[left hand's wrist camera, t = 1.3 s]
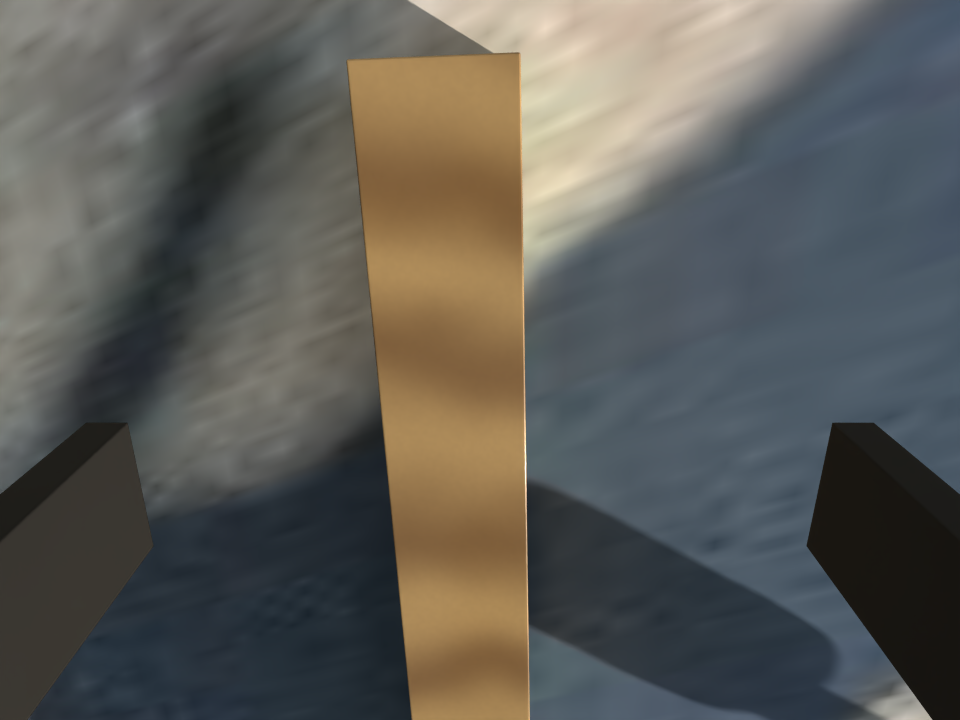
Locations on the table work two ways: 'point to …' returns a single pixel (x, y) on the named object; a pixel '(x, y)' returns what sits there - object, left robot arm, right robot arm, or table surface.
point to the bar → (450, 366)
